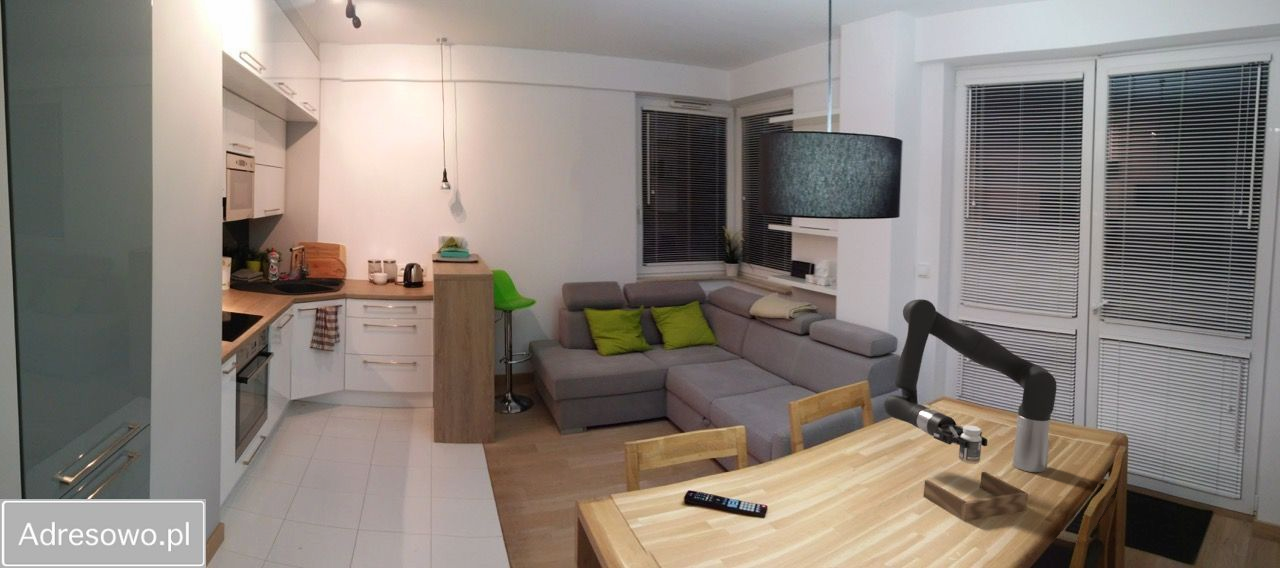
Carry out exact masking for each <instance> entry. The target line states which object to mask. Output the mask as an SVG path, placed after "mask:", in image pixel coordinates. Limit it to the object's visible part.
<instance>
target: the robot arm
mask: <svg viewBox="0 0 1280 568" xmlns="http://www.w3.org/2000/svg"><path fill="white" fill-rule="evenodd" d="M902 316H903V318H904V320H905V322H906V323H907V324H908V325H907V334H906V335H907V336H906V339H905V343H904V346H903V349H902V351H901V353H900V356H899V359H898V362H897V366H896V372H895V375H894V376H895V377H894V383H893V384H894V387H896V388H898V389H900V390H901V395H896V394H893V395H890V396H887V398H885V400H884V401H883V409H884V411H885V413H886V414H887V415H888V417H889V416H890V417H892V418H893V419H895V420H899V421H902V422H905V423H908V424H911V425H912V426H913V427H915V428H918V429H920V430H921V431H923V432H924V433H926V434H928V435H929V436H931V437H933V439H935V440H937V441H940V442H942V443H945V444H947V445H952V444H953V445H956V446H957V445H958V446H959V447H960V446H962V447H964V448H970V441H968V440H966V439H964V438H962V437H961V434H963V433H964V432H963V427H964V426H961V425H958V424H957V422H956V421H955V419H954V418H952V417H951V416H948V415H946V414H945V413H942V412H940V411H937V410H935V409H931V408H929V407H927V406H924V405H922V404H918V403H919V402H918V381H919V376H920V372H921V366H922V361H923V357H924V352H925V348H926V346H927V345H926V344H927V342H928V339H929V335H932V336H933V337H935V338H937V339H939V341H942V342H943V343H944V344H945V345H947V346H948V347H950V348H951V349H953V350H954V351H957V352H958V353H959V354H960V355H962V356H963V357H965V358H968V359H969V360H971V361H972V362H974V363H976V364H978V365H981V366H982V367H985V368H988V369H990V370H993V371H997V372H999V373H1000V374H1003V375H1004V376H1006V377H1007V378H1010V379H1011V380H1012V381H1013V382H1014V383H1016V384H1018V385H1019V386H1020V387H1021V388H1022V389H1023V392H1022V401H1021V404H1020V405H1019V406H1018V411H1017V420H1016V429H1015V436H1014V437H1015V439H1014V447H1013V457H1012V465H1013V467H1015V468H1016V469H1019V470H1021V471H1025V472H1030V473H1042V472H1044V471H1045V470H1047V467H1048V459H1049V453H1050V444H1051V443H1050V440H1049V433H1050V432H1049V431H1050V426H1051V425H1050V423H1051V422H1050V421H1051V415H1052V413H1053V411H1054V409H1055V403H1056V402H1055V401H1056V396H1057V395H1056V394H1057V379H1056V378H1055V376H1054V375H1053V374H1051V372H1049V371H1048V370H1047V369H1046V368H1044V367H1043V366H1040V365H1038V364H1035V363H1034V362H1031V361H1028V360H1026V359H1025V358H1023V357H1020V356H1018V355H1016V354H1014V353H1013V352H1012V351H1010V350H1009V349H1007V348H1006V347H1005V346H1003V345H1002V344H1000V343H999V342H997V341H996V340H995V339H993V338H991V337H989V336H987V335H986V334H984V333H982V332H981V331H979V330H977V329H974V328H972V327H971V326H968V325H965V324H963V323H960V322H957V321H954V320H952V319H950V318H948V317H946V316H944V315H943V313H940V312H938V310H936V307H935V305H934V303H932V302H931V301H929V300H928V299H923V298H922V299H913V300H911V301H908V302H907V303H906V304H905V305H904V306H903V309H902ZM982 435H983V432H982V431H981V434H980V436H981V438H982V444H981V447H987V446H988V439H987V438H986V437H983V436H982Z"/></svg>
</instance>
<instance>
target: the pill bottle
mask: <svg viewBox="0 0 1280 568" xmlns="http://www.w3.org/2000/svg"><path fill="white" fill-rule="evenodd" d="M962 427H963V432H964V433H963V434H961V437H962V438H964V439H966V440H968V441H970V448H964V447H962V446H960V445H959V450H958V459H959V461H961V462H963V463H966V464H969V465H971V464H972V465H976V464H979V463H980V461H981V452H982V445H981V444H982V438H981V436H982V435H981V436H980V434H981V432H982V429H981V428H980V427H979V426H975V425H969V424H968V425H967V424H966V425H963V426H962Z"/></svg>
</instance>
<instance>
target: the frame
mask: <svg viewBox="0 0 1280 568" xmlns="http://www.w3.org/2000/svg"><path fill="white" fill-rule="evenodd" d="M979 483H980V484H979V488H980V489H981V490H983V491H985V492H987V493H989V494H991V495H993V496H990V497H985V498H978V499H977V498H976V499H971V500H966V501H965V500H964V499H962V498H960V497H959V496H957V495H955V494H953V493H952V492H950V491H949V490H946V489H945V488H943V487H941V486H940V485H938V484H936V483H934V482H933V481H932V480H930V479H925V480H924V486H923V498H925V499H927V500H928V501H930V502H931V503H933V504H935V505H937V506H938V507H940V508H942V509H943V510H945V511H946V512H948V513H949V514H950V515H951V514H952V515H953V516H955V517H956V518H958V519H960V520H961V521H963V522H966V521H972V520H977V519H978V520H979V519H983V518H989V517H995V516H1001V515H1006V514H1013V513H1019V512H1024V510H1025V511H1027V508H1028V507H1027V506H1028V497H1029V493H1028V492H1026V491H1024V490H1022V489H1021V488H1018V487H1016V486H1014V485H1013V484H1010V483H1008V482H1006V481H1005V480H1002V479H1000V478H998V477H997V476H995V475H992V474H990V473H988V472H986V471H981V473H980V482H979ZM1018 511H1019V512H1018Z"/></svg>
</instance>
